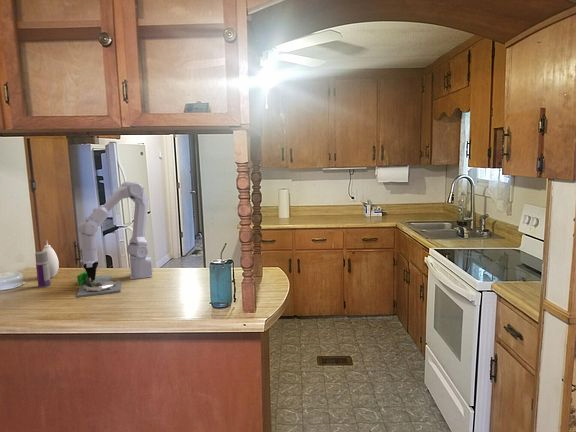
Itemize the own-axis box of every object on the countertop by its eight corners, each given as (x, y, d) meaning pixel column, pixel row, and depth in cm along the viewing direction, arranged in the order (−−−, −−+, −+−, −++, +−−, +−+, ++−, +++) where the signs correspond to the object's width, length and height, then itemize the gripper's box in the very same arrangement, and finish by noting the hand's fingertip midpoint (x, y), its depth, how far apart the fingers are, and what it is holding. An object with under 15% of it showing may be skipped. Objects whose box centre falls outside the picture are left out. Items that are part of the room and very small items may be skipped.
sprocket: (116, 281, 179) (115, 271, 179) (115, 289, 168) (114, 278, 167) (84, 285, 175) (84, 274, 174) (82, 293, 163) (81, 282, 163)
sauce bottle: (43, 276, 194) (39, 238, 192) (61, 274, 196) (58, 237, 194) (38, 280, 187) (34, 241, 184) (57, 278, 189) (54, 240, 187)
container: (35, 287, 176) (32, 253, 174) (45, 284, 181) (42, 251, 179) (43, 288, 175) (39, 254, 173) (53, 285, 179) (50, 251, 177)
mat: (111, 276, 192) (111, 275, 192) (110, 283, 180) (110, 283, 180) (95, 278, 190) (95, 277, 189) (93, 285, 178) (92, 285, 178)
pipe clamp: (87, 285, 177) (85, 275, 177) (78, 286, 177) (76, 276, 177) (98, 277, 188) (96, 268, 188) (90, 278, 188) (88, 269, 188)
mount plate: (120, 282, 181) (120, 280, 181) (120, 292, 167) (120, 290, 167) (80, 287, 175) (80, 285, 175) (77, 297, 162) (76, 295, 161)
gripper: (80, 246, 179) (83, 276, 180) (77, 253, 165) (80, 285, 167) (98, 245, 181) (100, 274, 183) (96, 251, 168) (98, 283, 169)
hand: (92, 279), depth 175 cm, fingers closed
